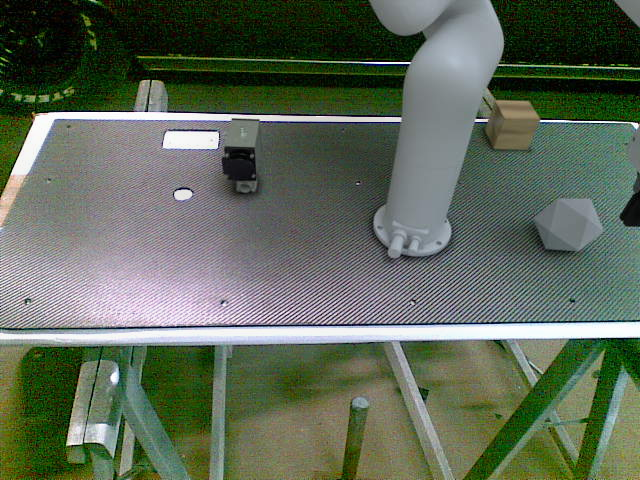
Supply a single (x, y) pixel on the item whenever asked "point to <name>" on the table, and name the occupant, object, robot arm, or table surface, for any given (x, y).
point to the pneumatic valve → (242, 153)
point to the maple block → (512, 124)
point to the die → (568, 224)
